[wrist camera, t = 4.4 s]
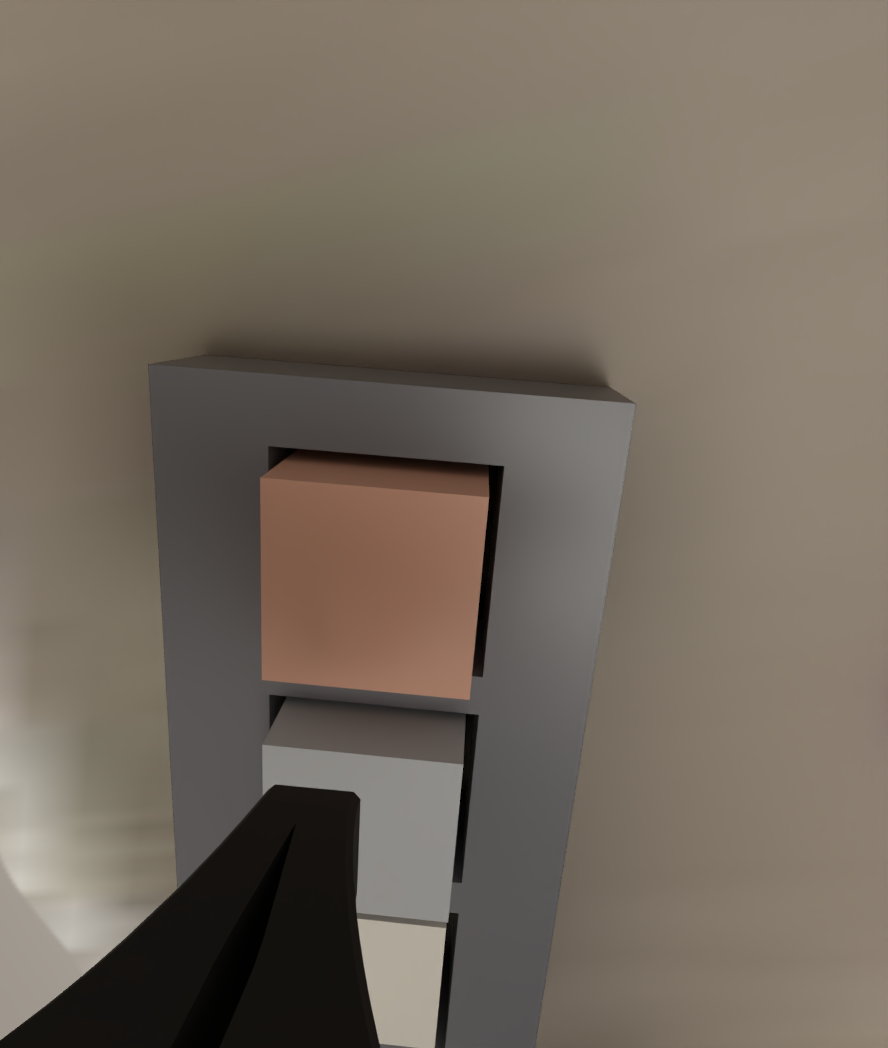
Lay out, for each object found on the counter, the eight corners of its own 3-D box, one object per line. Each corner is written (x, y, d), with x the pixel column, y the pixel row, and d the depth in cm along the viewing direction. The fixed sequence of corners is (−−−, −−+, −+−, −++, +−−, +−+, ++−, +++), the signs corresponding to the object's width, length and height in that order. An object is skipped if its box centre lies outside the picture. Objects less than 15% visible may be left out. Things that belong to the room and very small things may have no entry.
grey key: (453, 830, 19) (447, 922, 16) (296, 814, 19) (263, 902, 16) (466, 690, 18) (463, 764, 15) (298, 674, 18) (262, 744, 15)
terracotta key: (472, 634, 17) (469, 699, 14) (298, 619, 17) (262, 680, 15) (488, 463, 16) (488, 497, 13) (300, 447, 16) (260, 477, 13)
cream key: (441, 954, 22) (434, 1049, 19) (305, 939, 22) (279, 1032, 19) (451, 842, 21) (445, 927, 18) (307, 827, 21) (278, 910, 18)
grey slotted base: (522, 998, 23) (527, 1098, 20) (224, 965, 23) (187, 1059, 20) (610, 387, 17) (635, 403, 14) (204, 354, 17) (147, 364, 14)
